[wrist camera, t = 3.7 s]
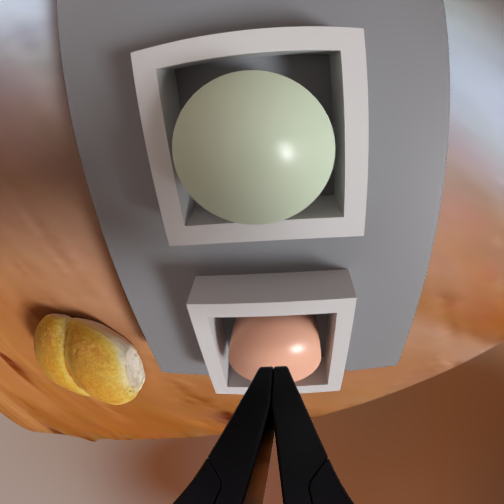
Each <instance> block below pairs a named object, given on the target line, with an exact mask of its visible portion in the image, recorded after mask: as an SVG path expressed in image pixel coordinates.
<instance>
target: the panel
mask: <svg viewBox="0 0 504 504" xmlns="http://www.w3.org/2000/svg"><path fill="white" fill-rule="evenodd" d="M57 18H58V32H59V42H60V52H61V60H62V68H63V75H64V81H65V87H66V93H67V99H68V105H69V110H70V115H71V120H72V125H73V129H74V134H75V138H76V143H77V147H78V151H79V155H80V159H81V163H82V167H83V170H84V174H85V178H86V181H87V185H88V188H89V192H90V195H91V199H92V202H93V205H94V208H95V211H96V215H97V218H98V221H99V224H100V227H101V230H102V233H103V236H104V238H105V241H106V244H107V247H108V250H109V252H110V255H111V258H112V261H113V263H114V266H115V268H116V271H117V274H118V276H119V279H120V281H121V284H122V286H123V289H124V291H125V293H126V296H127V298H128V301H129V303H130V305H131V308H132V310H133V312H134V314H135V317H136V319H137V321H138V323H139V326H140V328H141V330H142V332H143V334H144V336H145V338H146V341H147V343H148V345H149V347H150V349H151V351H152V353H153V355H154V357H155V359H156V361H157V363H158V365H159V367H160V369H161V371H162V372H168V373H183V374H203V375H210V378H211V381H212V383H213V386H214V389H215V392H216V394H245V392H246V391H247V389H248V387H249V385H250V384H251V382H252V381H251V380H248V379H246V378H244V377H243V376H241V375H240V374H238V373H237V372H236V371H235V370H234V369H233V368H232V366H231V365H230V362H229V358H228V355H229V347H230V341H231V334H232V328H233V323H234V320H235V318H236V317H262V316H288V315H308V314H313V316H314V317H315V319H316V321H317V324H318V331H319V339H320V348H321V361H320V364H319V366H318V367H317V369H316V370H315V371H314V372H313V373H312V374H310V375H309V376H307V377H305V378H303V379H301V380H299V381H296V382H295V384H296V387H297V389H298V391H299V393H313V392H327V391H339V390H340V388H341V383H342V379H343V374H344V371H350V370H360V369H369V368H378V367H385V366H393V365H397V364H398V361H399V359H400V356H401V353H402V351H403V348H404V345H405V342H406V339H407V337H408V334H409V331H410V328H411V325H412V322H413V318H414V315H415V312H416V309H417V305H418V302H419V299H420V295H421V292H422V288H423V284H424V281H425V277H426V273H427V269H428V265H429V261H430V256H431V252H432V248H433V243H434V238H435V233H436V228H437V223H438V217H439V212H440V206H441V199H442V192H443V185H444V178H445V169H446V160H447V149H448V135H449V116H450V67H449V48H448V35H447V25H446V16H445V9H444V2H443V0H57ZM244 70H260V71H268V72H272V73H276V74H280V75H282V76H285V77H287V78H290V79H292V80H293V81H295V82H297V83H299V84H300V85H301V86H303V87H304V88H306V89H307V90H308V91H309V92H310V93H311V94H312V95H313V96H314V97H315V98H316V99H317V100H318V101H319V103H320V104H321V105H322V107H323V108H324V110H325V112H326V114H327V115H328V117H329V120H330V123H331V125H332V128H333V133H334V137H335V160H334V165H333V169H332V172H331V175H330V178H329V180H328V182H327V184H326V186H325V187H324V189H323V190H322V192H321V193H320V194H319V196H318V197H317V198H316V199H315V200H314V201H313V202H312V203H311V204H310V205H309V206H308V207H306V208H305V209H304V210H302V211H301V212H299V213H298V214H296V215H294V216H292V217H290V218H287V219H285V220H282V221H279V222H275V223H270V224H262V225H248V224H240V223H235V222H231V221H228V220H225V219H222V218H220V217H218V216H216V215H214V214H212V213H211V212H209V211H207V210H206V209H204V208H203V207H202V206H201V205H199V204H198V203H197V202H196V201H195V200H194V199H193V198H192V197H191V196H190V194H189V193H188V192H187V190H186V189H185V188H184V186H183V184H182V183H181V181H180V179H179V177H178V174H177V172H176V169H175V165H174V161H173V154H172V138H173V132H174V128H175V124H176V121H177V119H178V117H179V114H180V112H181V110H182V109H183V107H184V106H185V104H186V103H187V101H188V100H189V99H190V98H191V97H192V96H193V94H194V93H196V92H197V91H198V90H199V89H200V88H201V87H203V86H204V85H206V84H207V83H209V82H210V81H212V80H214V79H216V78H218V77H220V76H223V75H226V74H229V73H232V72H238V71H244Z"/></svg>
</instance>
